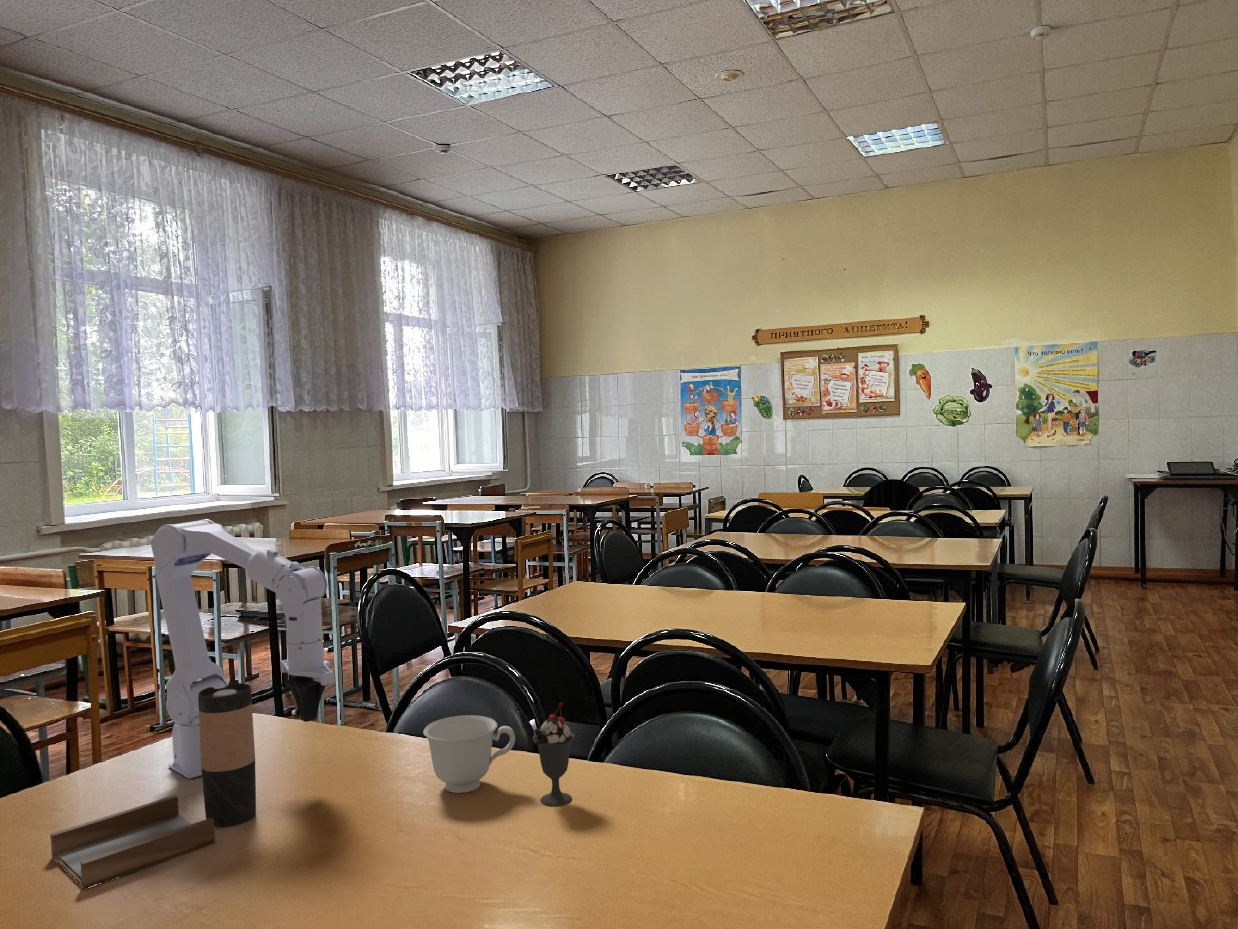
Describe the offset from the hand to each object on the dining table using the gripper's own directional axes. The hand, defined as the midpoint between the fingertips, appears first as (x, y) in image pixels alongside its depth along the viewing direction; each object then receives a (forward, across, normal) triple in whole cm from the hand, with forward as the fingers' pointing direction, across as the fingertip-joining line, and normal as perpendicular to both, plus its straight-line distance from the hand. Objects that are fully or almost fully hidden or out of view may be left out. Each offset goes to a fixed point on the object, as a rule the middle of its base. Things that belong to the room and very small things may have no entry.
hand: (309, 719), depth 153 cm
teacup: (+11, -24, -15) cm, 30 cm away
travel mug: (+11, -3, +15) cm, 19 cm away
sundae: (+11, -39, -20) cm, 45 cm away
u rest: (+10, -3, +29) cm, 31 cm away
